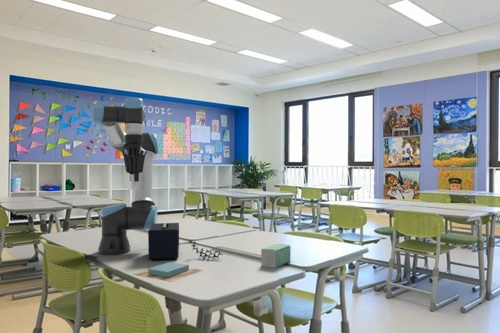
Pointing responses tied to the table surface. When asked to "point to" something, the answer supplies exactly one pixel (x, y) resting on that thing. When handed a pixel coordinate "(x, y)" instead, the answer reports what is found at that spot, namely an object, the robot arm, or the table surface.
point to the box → (275, 255)
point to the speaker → (163, 241)
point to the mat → (171, 278)
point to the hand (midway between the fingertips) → (134, 189)
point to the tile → (168, 269)
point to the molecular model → (206, 252)
